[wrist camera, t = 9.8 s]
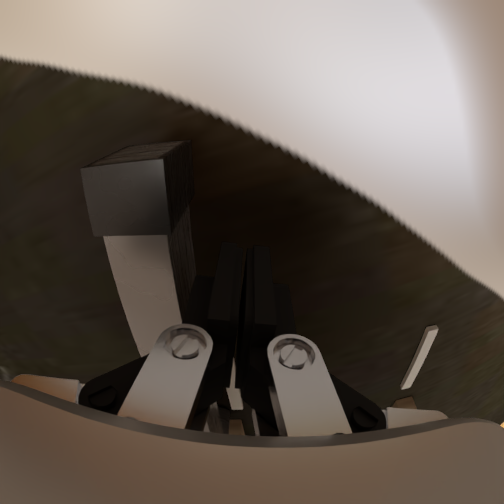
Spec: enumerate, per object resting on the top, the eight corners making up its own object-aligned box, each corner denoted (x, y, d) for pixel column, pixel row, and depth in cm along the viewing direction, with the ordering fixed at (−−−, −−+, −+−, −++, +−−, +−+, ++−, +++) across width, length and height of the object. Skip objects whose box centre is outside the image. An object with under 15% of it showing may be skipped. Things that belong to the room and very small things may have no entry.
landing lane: (408, 383, 23) (410, 387, 23) (232, 405, 24) (231, 409, 23) (436, 324, 19) (438, 329, 19) (218, 349, 20) (217, 354, 19)
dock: (384, 437, 30) (389, 455, 27) (234, 455, 31) (233, 474, 28) (411, 396, 24) (420, 418, 22) (221, 419, 25) (219, 445, 23)
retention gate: (206, 130, 12) (147, 170, 5) (230, 418, 25) (227, 493, 18) (157, 134, 12) (57, 180, 5) (206, 417, 25) (198, 490, 18)
